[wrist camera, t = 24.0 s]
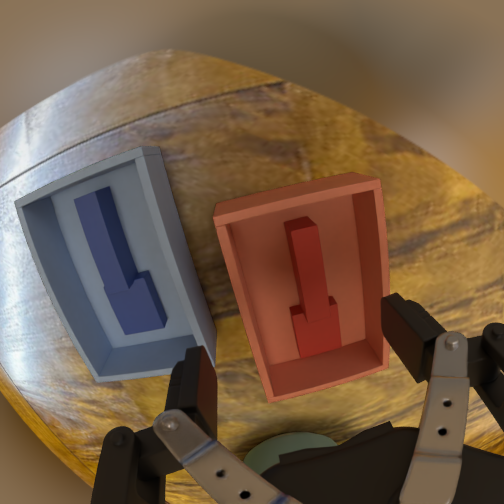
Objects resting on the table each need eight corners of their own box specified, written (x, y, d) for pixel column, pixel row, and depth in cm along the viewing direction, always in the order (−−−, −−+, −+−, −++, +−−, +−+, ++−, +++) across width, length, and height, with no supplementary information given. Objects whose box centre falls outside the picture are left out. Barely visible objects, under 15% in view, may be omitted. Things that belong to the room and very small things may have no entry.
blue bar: (79, 196, 20) (63, 203, 17) (120, 181, 20) (106, 186, 17) (129, 326, 23) (120, 344, 21) (168, 319, 23) (162, 337, 21)
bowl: (358, 455, 33) (375, 500, 26) (253, 486, 34) (257, 532, 27) (339, 393, 28) (363, 454, 20) (202, 435, 29) (199, 495, 21)
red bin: (215, 203, 21) (212, 217, 17) (353, 171, 21) (380, 178, 17) (263, 368, 26) (268, 403, 22) (369, 338, 26) (388, 368, 22)
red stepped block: (270, 224, 21) (275, 234, 19) (319, 212, 21) (330, 221, 19) (297, 349, 25) (303, 368, 23) (337, 338, 25) (346, 355, 23)
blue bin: (46, 190, 20) (13, 201, 15) (159, 146, 20) (141, 145, 15) (112, 350, 25) (96, 382, 20) (217, 331, 25) (215, 366, 20)
